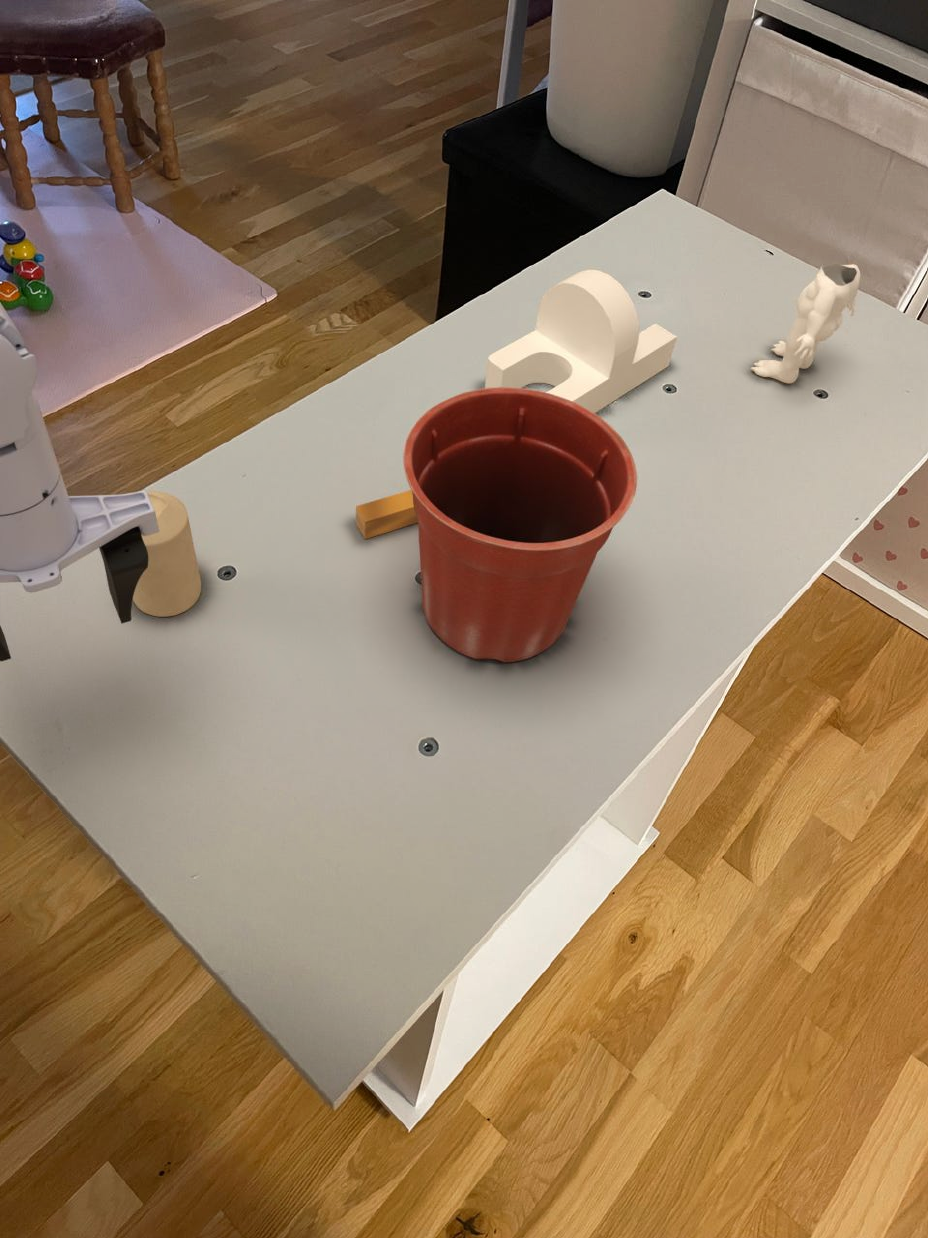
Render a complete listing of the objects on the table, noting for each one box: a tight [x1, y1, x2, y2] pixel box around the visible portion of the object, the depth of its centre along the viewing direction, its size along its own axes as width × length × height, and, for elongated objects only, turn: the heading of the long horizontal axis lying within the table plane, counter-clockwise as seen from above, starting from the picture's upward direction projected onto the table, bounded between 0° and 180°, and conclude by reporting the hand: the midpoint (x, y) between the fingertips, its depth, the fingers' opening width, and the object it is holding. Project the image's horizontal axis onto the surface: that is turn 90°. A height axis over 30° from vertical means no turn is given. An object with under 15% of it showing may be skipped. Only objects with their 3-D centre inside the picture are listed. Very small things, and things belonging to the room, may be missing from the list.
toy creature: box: [750, 263, 861, 384], centre depth 100 cm, size 12×6×12 cm, turn 141°
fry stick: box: [355, 489, 418, 540], centre depth 87 cm, size 14×2×2 cm, turn 117°
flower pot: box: [402, 387, 638, 663], centre depth 76 cm, size 16×16×16 cm
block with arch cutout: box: [484, 269, 678, 414], centre depth 97 cm, size 18×10×11 cm, turn 134°
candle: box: [132, 490, 202, 618], centre depth 76 cm, size 6×6×10 cm
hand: (63, 629), depth 65 cm, fingers open, 7 cm apart
